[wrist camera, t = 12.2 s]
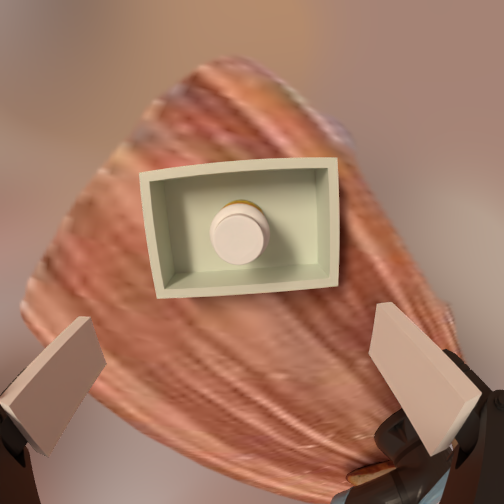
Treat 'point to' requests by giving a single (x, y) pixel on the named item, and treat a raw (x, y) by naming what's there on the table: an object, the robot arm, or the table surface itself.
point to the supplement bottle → (239, 232)
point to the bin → (274, 208)
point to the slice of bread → (369, 472)
